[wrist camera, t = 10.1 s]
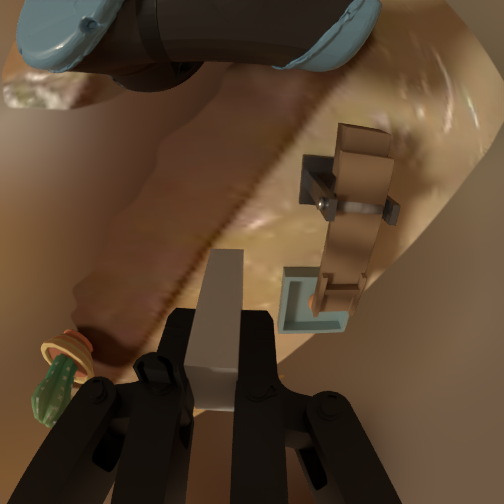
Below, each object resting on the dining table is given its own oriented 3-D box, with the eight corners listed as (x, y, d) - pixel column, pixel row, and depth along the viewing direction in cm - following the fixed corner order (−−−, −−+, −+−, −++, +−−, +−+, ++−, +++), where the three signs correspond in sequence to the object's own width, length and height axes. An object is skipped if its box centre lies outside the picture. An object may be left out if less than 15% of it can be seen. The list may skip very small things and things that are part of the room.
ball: (305, 299, 48) (309, 288, 45) (324, 299, 48) (329, 288, 45) (307, 316, 46) (311, 305, 43) (327, 316, 46) (332, 305, 43)
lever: (334, 122, 27) (350, 130, 22) (382, 130, 27) (404, 140, 22) (307, 292, 41) (313, 318, 36) (345, 292, 41) (353, 316, 36)
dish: (283, 267, 44) (285, 277, 42) (356, 268, 45) (361, 277, 42) (277, 322, 51) (278, 333, 48) (340, 321, 51) (343, 331, 49)
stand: (302, 154, 35) (324, 176, 25) (369, 161, 36) (410, 186, 25) (298, 202, 39) (315, 240, 29) (362, 206, 39) (396, 244, 29)
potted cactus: (83, 365, 61) (54, 437, 40) (45, 327, 55) (4, 399, 33) (115, 356, 58) (84, 442, 36) (72, 312, 51) (23, 399, 29)
